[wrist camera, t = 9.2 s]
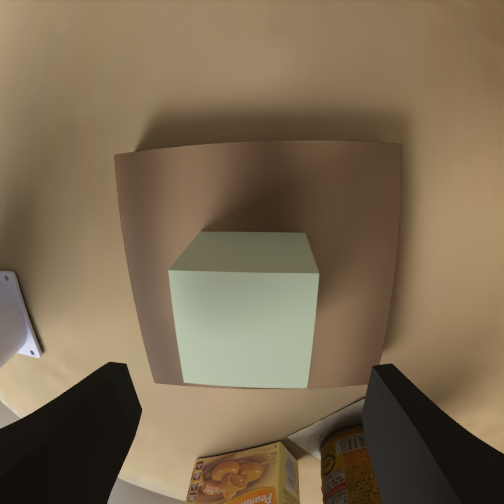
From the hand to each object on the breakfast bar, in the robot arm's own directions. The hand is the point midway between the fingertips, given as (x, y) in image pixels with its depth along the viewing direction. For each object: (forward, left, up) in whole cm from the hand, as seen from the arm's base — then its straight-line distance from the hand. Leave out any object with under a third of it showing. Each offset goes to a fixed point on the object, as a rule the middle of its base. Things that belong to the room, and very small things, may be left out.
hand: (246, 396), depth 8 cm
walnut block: (0, 0, -11) cm, 11 cm away
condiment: (+7, -16, -11) cm, 20 cm away
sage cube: (0, 0, -8) cm, 8 cm away
